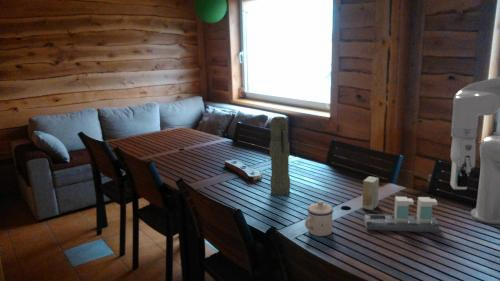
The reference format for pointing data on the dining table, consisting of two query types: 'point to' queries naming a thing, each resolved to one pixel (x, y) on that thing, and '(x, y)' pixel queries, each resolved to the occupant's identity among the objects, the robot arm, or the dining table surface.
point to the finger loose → (455, 176)
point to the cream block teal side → (425, 209)
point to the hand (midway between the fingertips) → (459, 183)
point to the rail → (399, 223)
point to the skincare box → (370, 192)
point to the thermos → (279, 157)
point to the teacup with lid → (319, 219)
